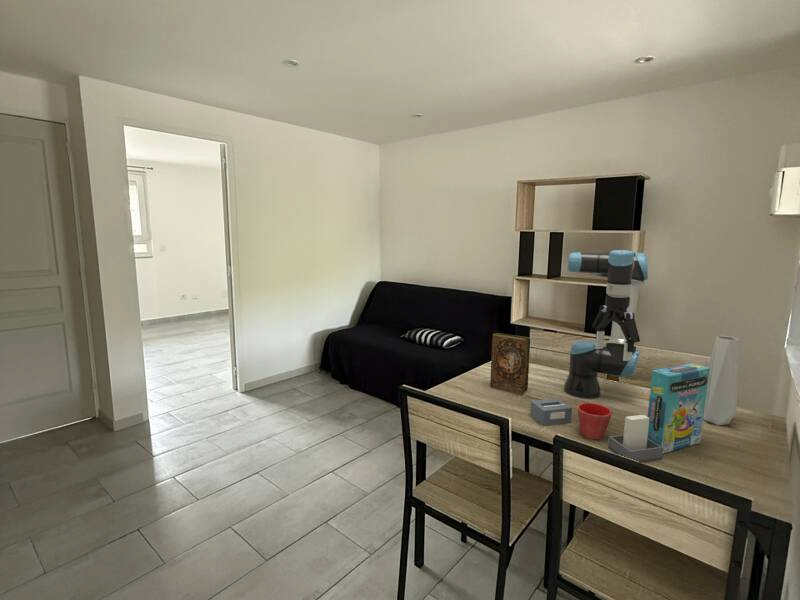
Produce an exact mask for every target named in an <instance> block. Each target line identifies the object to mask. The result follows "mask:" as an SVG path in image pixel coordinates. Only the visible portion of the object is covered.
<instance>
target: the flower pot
mask: <svg viewBox="0 0 800 600" xmlns="http://www.w3.org/2000/svg"><path fill="white" fill-rule="evenodd" d="M612 413H613V412H612V410H611V409H610V408H609V407H606V406H605V405H601V404H599V403H593V402H583V403H580V404H578V405H577V414H578V423H579V428H580V431H579V432H580V433H581V435H582V436H584V437H585V438H588V439H591V440H601V439H604V437H605V435H606V433H607V430H608V426H609V425H610V424H609V423H610V421H611V417H612Z"/></svg>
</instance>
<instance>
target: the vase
mask: <svg viewBox="0 0 800 600" xmlns="http://www.w3.org/2000/svg"><path fill="white" fill-rule="evenodd" d="M739 361H740V339H739V338H737V337H735V336H728V335H717V336H716V338H715V342H714V345H713V348H712V352H711V355H710V358H709V362H708V366H707V367H708V368H710V369H709V377H708V384H707V393H706V400H705V409H704V416H703V421H705V422H708V423H711V424H714V425H716V426H726V424H727V425H729V424H730V423H731V421H732V420H733V417H734V415H735V413H736V411H737V405H738V386H739V367H740V366H739V363H740V362H739Z"/></svg>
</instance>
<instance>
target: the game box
mask: <svg viewBox="0 0 800 600" xmlns="http://www.w3.org/2000/svg"><path fill="white" fill-rule="evenodd" d="M709 369H710V368H708V366H705V365H702V364H697V363H694V362H690V363H686V364H681V365H675V366H669V367H665V368H659V369H652V370H651V371H652V373H651V380H650V391H649V400H648V411H647V417H649V418H650V419H649V428H648V437H647V438H648V439H650V440H652V441H653V442H655V443H656V444H658V445H660V446H661V447H663V454H662V455H664V454H666V453H670V452H673V451H676V450H679V449H680V450H681V449H683V448H687V447H691V446H694V445H697V444H700V443H701V437H702V432H703V431H702V430H703V423H704V418H703V416H704V409H705V400H706V393H707V384H708V377H709Z"/></svg>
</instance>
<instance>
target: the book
mask: <svg viewBox="0 0 800 600" xmlns="http://www.w3.org/2000/svg"><path fill="white" fill-rule="evenodd" d="M491 337H492V338H491V356H490V357H491V360H490V361H491V362H490V386H489V387H490V389H494V390H500V391H504V392H507V393H513V394H517V395H524V393H525V392H526V391H527V390H528V388H529V376H530V375H529V374H530V371H529V370H530V355H531V353H530V352H531V351H530V350H531V337H528V336H522V335H521V336H520V335H515V334H514V335H513V334H508V333H507V334H506V333H500V332H496V333H495V332H494V333H492V334H491Z"/></svg>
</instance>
